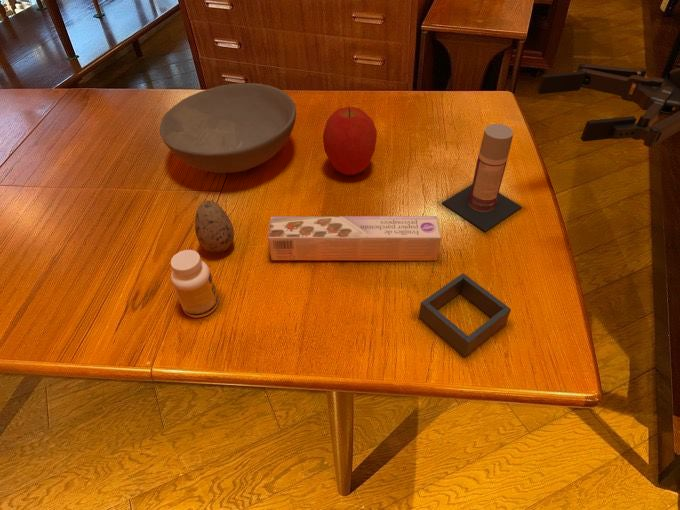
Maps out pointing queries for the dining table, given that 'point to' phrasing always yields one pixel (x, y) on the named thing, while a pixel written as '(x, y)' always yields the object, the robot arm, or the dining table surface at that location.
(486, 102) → the dining table surface
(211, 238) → the decorative egg
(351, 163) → the apple
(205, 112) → the bowl
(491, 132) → the container
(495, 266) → the dining table surface
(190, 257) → the supplement bottle
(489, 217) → the coaster
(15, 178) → the dining table surface
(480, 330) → the open box
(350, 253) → the box
